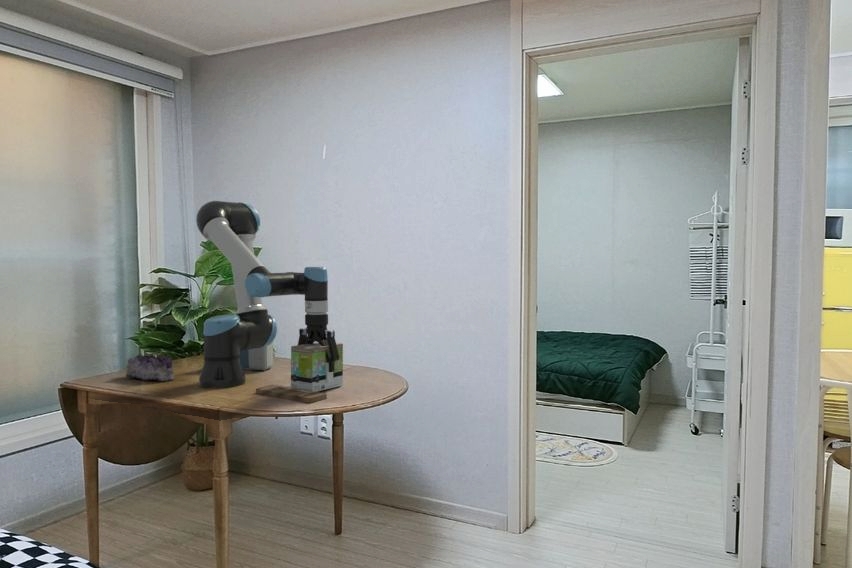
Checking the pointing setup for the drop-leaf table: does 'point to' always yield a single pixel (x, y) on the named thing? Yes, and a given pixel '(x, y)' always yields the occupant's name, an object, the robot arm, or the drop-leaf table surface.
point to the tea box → (314, 367)
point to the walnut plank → (291, 393)
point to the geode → (150, 368)
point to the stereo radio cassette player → (257, 358)
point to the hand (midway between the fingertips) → (317, 380)
